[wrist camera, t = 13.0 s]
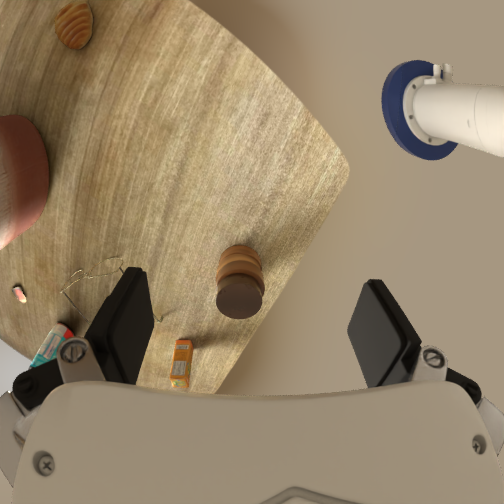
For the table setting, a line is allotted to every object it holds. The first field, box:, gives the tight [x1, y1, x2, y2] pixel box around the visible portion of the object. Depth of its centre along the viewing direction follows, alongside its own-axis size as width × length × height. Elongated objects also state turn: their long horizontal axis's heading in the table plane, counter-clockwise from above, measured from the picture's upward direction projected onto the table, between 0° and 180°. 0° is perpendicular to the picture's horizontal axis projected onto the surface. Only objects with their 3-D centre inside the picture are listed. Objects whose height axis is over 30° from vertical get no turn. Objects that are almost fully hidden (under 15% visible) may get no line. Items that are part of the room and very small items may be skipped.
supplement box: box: [170, 340, 193, 388], centre depth 47 cm, size 3×3×10 cm
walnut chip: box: [216, 273, 262, 319], centre depth 36 cm, size 6×6×2 cm
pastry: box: [54, 0, 94, 49], centre depth 21 cm, size 9×7×4 cm
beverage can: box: [29, 323, 74, 370], centre depth 44 cm, size 6×6×15 cm
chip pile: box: [216, 245, 265, 297], centre depth 40 cm, size 7×7×7 cm
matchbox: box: [12, 287, 26, 303], centre depth 45 cm, size 5×5×1 cm
